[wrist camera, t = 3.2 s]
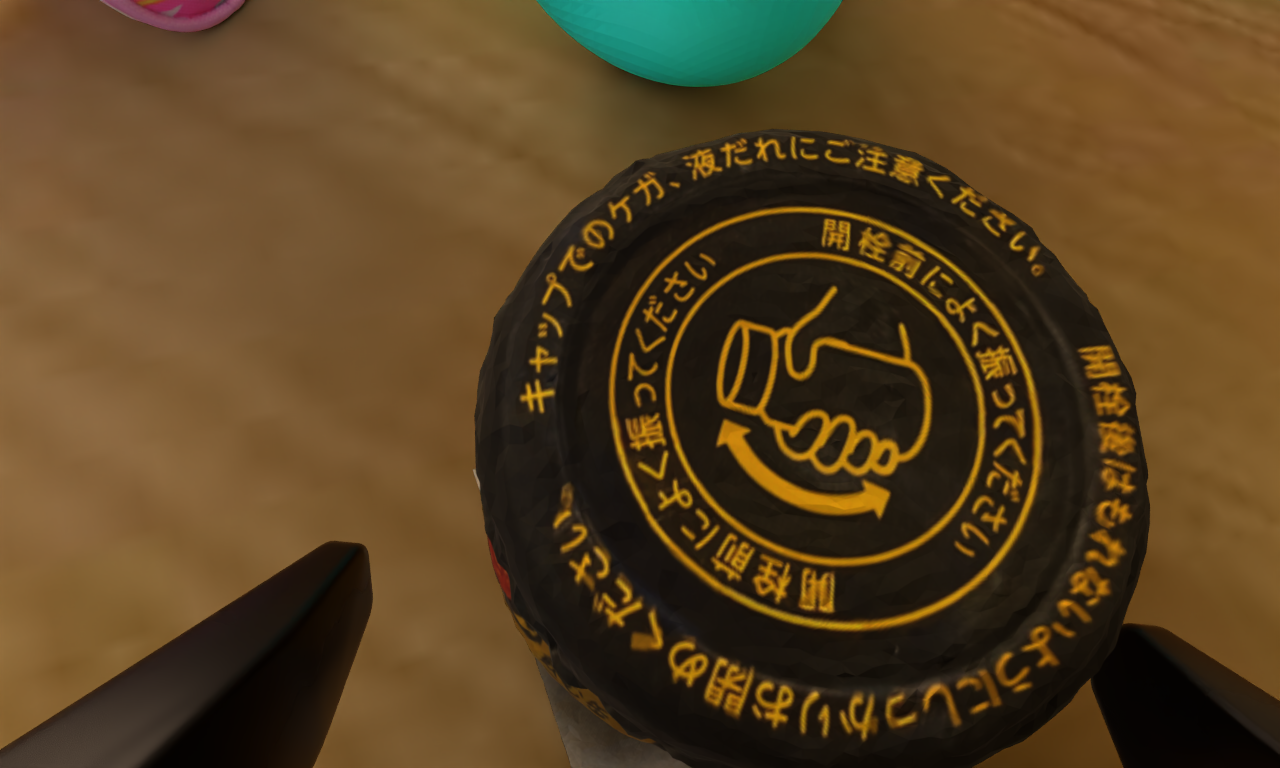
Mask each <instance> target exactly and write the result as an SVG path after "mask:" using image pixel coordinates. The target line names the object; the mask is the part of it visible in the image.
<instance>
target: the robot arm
mask: <svg viewBox="0 0 1280 768" xmlns="http://www.w3.org/2000/svg"><path fill="white" fill-rule="evenodd" d="M372 602H373V593H372V583H371V573H370V563H369V554H368V550H367V548H366V547H365V546H364V545H362V544H360V543H351V542H341V541H330V542H327V543H325V544H323V545H321V546H319V547H318V548H316V549H315V550H313V551H312V552H310V553H308V554H307V555H305V556H304V557H302V558H301V559H299V560H297V561H296V562H294V563H293V564H291V565H290V566H288V567H286V568H285V569H283V570H282V571H280V572H279V573H277V574H275V575H274V576H272V577H271V578H269V579H268V580H266V581H264V582H263V583H261V584H260V585H258V586H257V587H255V588H253V589H252V590H250V591H249V592H247V593H246V594H244V595H242V596H241V597H239V598H238V599H236V600H235V601H233V602H231V603H230V604H228V605H227V606H225V607H224V608H222V609H220V610H219V611H217V612H216V613H214V614H213V615H211V616H209V617H208V618H206V619H205V620H203V621H202V622H200V623H198V624H197V625H195V626H194V627H192V628H191V629H189V630H187V631H186V632H184V633H183V634H181V635H180V636H178V637H176V638H175V639H173V640H172V641H170V642H169V643H167V644H165V645H164V646H162V647H161V648H159V649H158V650H156V651H154V652H153V653H151V654H150V655H148V656H147V657H145V658H144V659H142V660H140V661H139V662H137V663H136V664H134V665H133V666H131V667H129V668H128V669H126V670H125V671H123V672H122V673H120V674H118V675H117V676H115V677H114V678H112V679H111V680H109V681H107V682H106V683H104V684H103V685H101V686H100V687H98V688H96V689H95V690H93V691H92V692H90V693H89V694H87V695H85V696H84V697H82V698H81V699H79V700H78V701H76V702H74V703H73V704H71V705H70V706H68V707H67V708H65V709H63V710H62V711H60V712H59V713H57V714H56V715H54V716H52V717H51V718H49V719H48V720H46V721H45V722H43V723H41V724H40V725H38V726H37V727H35V728H34V729H32V730H30V731H29V732H27V733H26V734H24V735H23V736H21V737H19V738H18V739H16V740H15V741H13V742H12V743H10V744H8V745H7V746H5V747H4V748H2V749H1V750H0V768H313V766H314V764H315V761H316V759H317V757H318V755H319V752H320V750H321V748H322V746H323V743H324V740H325V738H326V735H327V733H328V730H329V727H330V725H331V722H332V719H333V717H334V714H335V711H336V708H337V705H338V703H339V700H340V697H341V694H342V692H343V689H344V686H345V683H346V681H347V678H348V675H349V672H350V669H351V667H352V664H353V661H354V658H355V656H356V653H357V650H358V647H359V644H360V642H361V639H362V636H363V633H364V631H365V628H366V625H367V622H368V619H369V616H370V613H371V609H372ZM1091 686H1092V690H1093V693H1094V695H1095V698H1096V700H1097V703H1098V705H1099V708H1100V710H1101V713H1102V715H1103V718H1104V720H1105V723H1106V725H1107V728H1108V730H1109V733H1110V735H1111V738H1112V740H1113V743H1114V745H1115V748H1116V750H1117V753H1118V755H1119V758H1120V760H1121V763H1122V765H1123V768H1280V701H1279V700H1277V699H1275V698H1274V697H1272V696H1271V695H1269V694H1268V693H1266V692H1264V691H1263V690H1261V689H1260V688H1258V687H1257V686H1255V685H1253V684H1252V683H1250V682H1249V681H1247V680H1246V679H1244V678H1242V677H1241V676H1239V675H1238V674H1236V673H1235V672H1233V671H1231V670H1230V669H1228V668H1227V667H1225V666H1224V665H1222V664H1220V663H1219V662H1217V661H1216V660H1214V659H1213V658H1211V657H1209V656H1208V655H1206V654H1205V653H1203V652H1202V651H1200V650H1198V649H1197V648H1195V647H1194V646H1192V645H1190V644H1189V643H1187V642H1186V641H1184V640H1183V639H1181V638H1179V637H1178V636H1176V635H1175V634H1173V633H1172V632H1170V631H1168V630H1166V629H1164V628H1162V627H1158V626H1153V625H1143V624H1134V623H1127V624H1123V625H1122V627H1121V630H1120V633H1119V636H1118V640H1117V643H1116V647H1115V648H1114V650H1113V651H1112V652H1111V653H1110V654H1109V656H1108V657H1107V658H1106V659H1105V660H1104V662H1103V664H1102V666H1101V668H1100V670H1099V672H1097V673H1096V674H1095V675H1094V676H1093V677H1091Z"/></svg>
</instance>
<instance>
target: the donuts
mask: <svg viewBox="0 0 1280 768" xmlns="http://www.w3.org/2000/svg"><path fill="white" fill-rule="evenodd" d="M536 1H537V2H538V3H539V4H540V5H541V7H542V8H543V9H544V10H545V12H546V13H547V14H548V15H549V16H550V17H551V18H552V19H553V20H554V21H555V22H556V23H557V24H558V25H559V26H560V27H561V28H562V29H563V30H564V31H565V32H566V33H568V34H569V35H570V36H571V37H572V38H574V39H575V40H576V41H577V42H578V43H580V44H581V45H582V46H584V47H585V48H586V49H588V50H589V51H591V52H592V53H594V54H596V55H597V56H599V57H600V58H602V59H603V60H605V61H607V62H608V63H610V64H612V65H614V66H616V67H618V68H620V69H622V70H625V71H627V72H629V73H632V74H634V75H637V76H640V77H643V78H646V79H649V80H653V81H656V82H660V83H665V84H670V85H676V86H686V87H710V86H721V85H727V84H732V83H737V82H741V81H744V80H747V79H750V78H753V77H755V76H758V75H760V74H762V73H765V72H767V71H769V70H771V69H772V68H774V67H776V66H778V65H780V64H781V63H783V62H785V61H786V60H788V59H789V58H790V57H792V56H793V55H795V54H796V53H797V52H799V51H800V50H801V49H802V48H803V47H805V46H806V45H807V44H808V43H809V42H810V41H811V40H812V39H813V38H814V37H815V36H816V35H817V34H818V32H819V31H820V30H821V29H822V28H823V27H824V26H825V24H826V23H827V22H828V21H829V20H830V18H831V17H832V16H833V14H834V13H835V11H836V10H837V9H838V7H839V6H840V4H841V2H842V1H843V0H536Z"/></svg>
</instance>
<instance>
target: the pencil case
mask: <svg viewBox="0 0 1280 768" xmlns="http://www.w3.org/2000/svg"><path fill="white" fill-rule="evenodd" d="M100 1H102V2H103V3H105V4H106V5H108V6H109V7H111V8H113V9H114V10H116V11H118V12H119V13H121V14H123V15H125V16H127V17H129V18H131V19H134V20H137V21H140V22H143V23H147V24H149V25H152V26H155V27H158V28H161V29H165V30H170V31H177V32H196V31H201V30H204V29H208V28H211V27H213V26H215V25H217V24H219V23H221V22H222V21H224V20H225V19H227V18H228V17H229V16H230V15H231V14H232V13H233V12H235V11H236V10H238V9H239V8H240V7H241V6H242V4H243V3H244V2H245V1H246V0H100Z"/></svg>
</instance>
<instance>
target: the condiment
mask: <svg viewBox="0 0 1280 768" xmlns="http://www.w3.org/2000/svg"><path fill="white" fill-rule="evenodd" d="M1135 403H1136V392H1135V388H1134V385H1133V382H1132V378H1131V376H1130V374H1129V372H1128V371H1127V369H1126V367H1125V366H1124V364H1123V362H1122V361H1121V359H1120V356H1119V354H1118V351H1117V349H1116V347H1115V345H1114V343H1113V341H1112V339H1111V337H1110V335H1109V333H1108V331H1107V329H1106V327H1105V325H1104V322H1103V320H1102V318H1101V315H1100V313H1099V311H1098V309H1097V308H1096V307H1095V306H1093V305H1092V304H1091V303H1090V302H1089V300H1088V297H1087V295H1086V294H1085V292H1084V291H1083V290H1082V289H1081V288H1080V287H1079V286H1078V285H1077V284H1076V282H1075V281H1074V280H1073V279H1072V278H1071V276H1070V275H1069V274H1068V273H1067V271H1066V270H1065V269H1064V267H1063V266H1062V265H1061V263H1060V262H1059V260H1058V259H1057V258H1056V256H1055V255H1054V254H1053V253H1052V252H1051V251H1050V250H1049V249H1047V248H1046V247H1045V246H1044V245H1043V244H1042V243H1041V242H1040V241H1039V239H1038V237H1037V236H1036V234H1035V232H1034V231H1033V229H1032V228H1031V227H1030V226H1028V225H1027V224H1026V223H1024V222H1023V221H1022V220H1020V219H1019V218H1018V217H1016V216H1015V215H1014V214H1012V213H1010V212H1009V211H1007V210H1005V209H1004V208H1002V207H1000V206H999V205H997V204H996V203H994V202H992V201H991V200H989V199H988V198H986V197H985V196H983V195H982V194H980V193H979V192H977V191H976V190H974V189H973V188H972V187H970V186H969V185H968V184H967V183H965V182H964V181H963V180H962V179H960V178H959V177H958V176H957V175H955V174H954V173H952V172H951V171H949V170H948V169H947V168H945V167H943V166H941V165H939V164H937V163H935V162H933V161H931V160H929V159H927V158H925V157H923V156H921V155H919V154H917V153H915V152H911V151H906V150H902V149H897V148H894V147H890V146H886V145H882V144H879V143H875V142H872V141H868V140H864V139H860V138H855V137H850V136H845V135H839V134H833V133H827V132H820V131H803V130H784V129H770V130H763V131H757V132H747V133H738V134H734V135H731V136H727V137H724V138H721V139H718V140H715V141H711V142H706V143H702V144H697V145H693V146H689V147H686V148H682V149H679V150H675V151H670V152H666V153H662V154H658V155H655V156H654V157H652V158H650V159H641V160H637V161H635V162H634V163H633V164H632V165H631V166H630V167H628V168H627V169H625V170H623V171H622V172H620V173H619V174H617V175H615V176H614V177H613V178H612V179H611V180H610V181H609V182H608V184H607V185H606V186H605V187H604V188H603V189H601V190H599V191H597V192H596V193H594V194H593V195H591V196H590V197H588V198H587V199H585V200H584V201H582V202H581V203H580V204H578V205H577V206H576V207H575V208H573V209H572V210H571V211H570V212H569V213H568V215H567V216H566V217H565V218H564V219H563V220H562V221H561V222H560V224H559V225H558V226H557V227H556V228H555V229H554V231H553V232H552V233H551V234H550V236H549V237H548V238H547V239H546V240H545V242H544V243H543V244H542V245H541V247H540V248H539V250H538V251H537V253H536V254H535V256H534V257H533V259H532V260H531V261H530V263H529V265H528V266H527V268H526V269H525V271H524V272H523V274H522V276H521V277H520V279H519V281H518V283H517V285H516V286H515V288H514V290H513V291H512V292H511V294H510V295H509V296H508V297H507V298H506V301H505V303H504V304H503V306H502V307H501V308H500V310H499V311H498V313H497V314H496V316H495V317H494V324H493V333H492V337H491V343H490V346H489V349H488V352H487V355H486V357H485V360H484V362H483V365H482V367H481V370H480V375H479V382H478V390H477V404H476V410H475V416H474V417H475V452H476V469H473V472H474V475H475V478H476V481H477V484H478V487H479V490H480V494H481V501H482V510H483V516H484V521H485V531H486V534H487V537H488V545H489V550H490V555H491V559H492V564H493V568H494V571H495V574H496V577H497V579H498V582H499V584H500V585H501V589H502V592H503V596H504V601H505V604H506V606H507V607H508V609H509V610H510V612H511V614H512V617H513V620H514V622H515V625H516V627H517V629H518V630H519V632H520V633H521V634H522V636H523V637H524V638H525V640H526V642H527V645H528V647H529V649H530V651H531V652H532V653H533V654H534V656H535V659H536V662H537V665H538V669H539V672H540V675H541V678H542V680H543V682H544V685H545V689H546V692H547V695H548V698H549V701H550V704H551V707H552V711H553V714H554V716H555V719H556V722H557V725H558V727H559V731H560V734H561V738H562V741H563V743H564V746H565V749H566V752H567V755H568V758H569V761H570V764H571V768H972V767H973V766H975V765H977V764H979V763H981V762H982V761H984V760H986V759H987V758H989V757H991V756H993V755H994V754H996V753H998V752H999V751H1001V750H1003V749H1005V748H1008V747H1011V746H1013V745H1015V744H1018V743H1020V742H1022V741H1024V740H1025V739H1027V738H1028V737H1029V736H1031V735H1032V734H1033V733H1034V732H1036V731H1037V730H1038V729H1040V728H1041V727H1042V726H1043V725H1045V724H1046V723H1047V722H1048V721H1049V720H1051V719H1052V718H1053V717H1054V716H1056V715H1057V714H1058V713H1059V712H1060V711H1061V710H1062V709H1063V708H1064V707H1065V706H1067V705H1068V704H1069V703H1070V702H1071V701H1072V699H1073V698H1074V696H1075V695H1076V693H1077V692H1078V690H1079V689H1080V688H1081V687H1082V686H1083V685H1084V684H1085V683H1086V682H1087V681H1088V680H1089V679H1090V678H1091V677H1093V676H1094V675H1095V674H1096V673H1097V672H1099V670H1100V668H1101V666H1102V664H1103V662H1104V660H1105V659H1106V658H1107V657H1108V656H1109V654H1110V653H1111V652H1112V651H1113V650H1114V648H1115V647H1116V643H1117V640H1118V636H1119V633H1120V630H1121V627H1122V624H1123V621H1124V617H1125V614H1126V611H1127V608H1128V605H1129V603H1130V600H1131V598H1132V595H1133V593H1134V590H1135V588H1136V585H1137V582H1138V578H1139V574H1140V570H1141V567H1142V564H1143V561H1144V558H1145V555H1146V550H1147V541H1148V532H1149V525H1150V503H1149V497H1148V491H1147V485H1146V484H1147V480H1148V468H1147V463H1146V459H1145V454H1144V448H1143V443H1142V437H1141V432H1140V426H1139V421H1138V416H1137V411H1136V405H1135Z"/></svg>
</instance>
